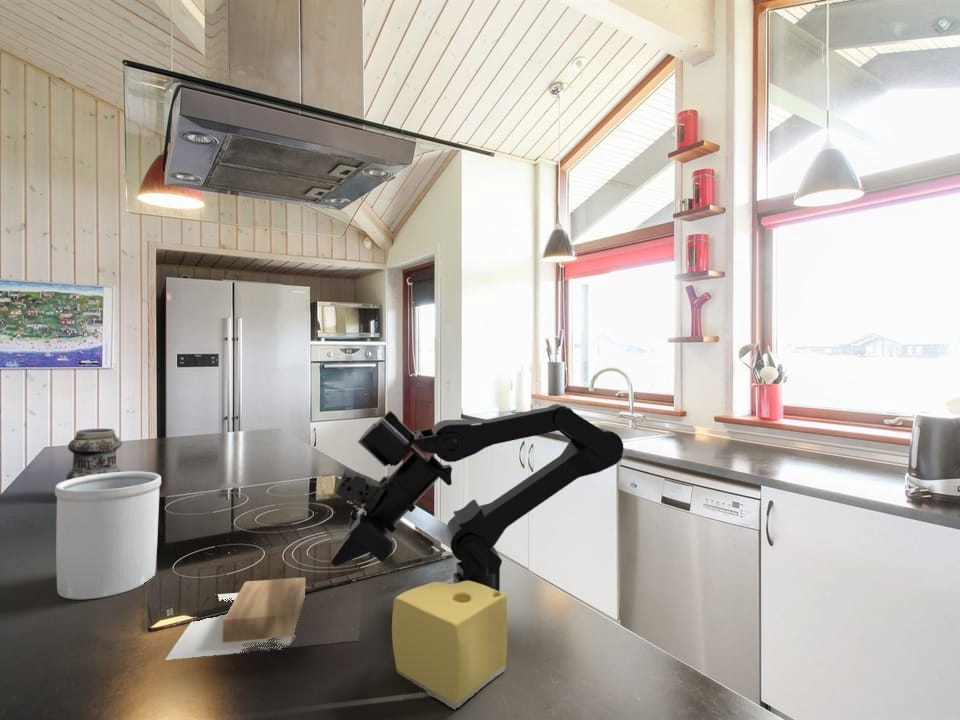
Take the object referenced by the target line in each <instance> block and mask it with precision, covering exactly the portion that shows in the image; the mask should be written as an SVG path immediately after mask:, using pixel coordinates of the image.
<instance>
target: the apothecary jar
mask: <svg viewBox="0 0 960 720" xmlns="http://www.w3.org/2000/svg"><path fill="white" fill-rule="evenodd" d="M115 432H116V431H115V429H113V428H89V429H88V428H87V429H80V430H76V433H75V434H76V435H75V436H74V438H73V439H72V440H70V442H69V443H68V445H67V448H68V450H69V451H70V452H71V453H73V459H72V460H73V461H72V462H73V463H72V469H71V470H70V471H69V472H68V473H67V474H66V480H69V479H73V478H77V477H82V476H88V475H95V474H103V473H112V472H122V469H121V468H120V467H119V466H117V450H118V449H119V448H121V446H122V444H123V443H122V440H121V438H120V437H118V436H116V433H115Z"/></svg>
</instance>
